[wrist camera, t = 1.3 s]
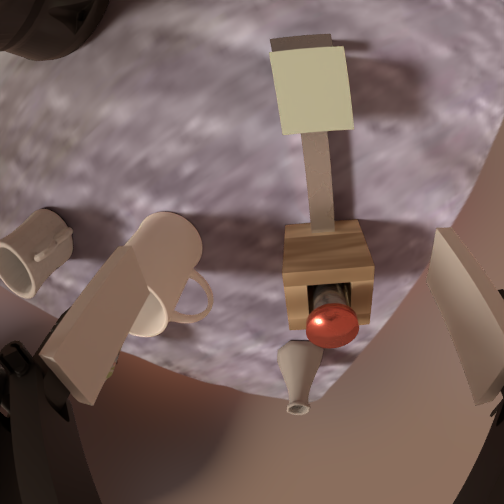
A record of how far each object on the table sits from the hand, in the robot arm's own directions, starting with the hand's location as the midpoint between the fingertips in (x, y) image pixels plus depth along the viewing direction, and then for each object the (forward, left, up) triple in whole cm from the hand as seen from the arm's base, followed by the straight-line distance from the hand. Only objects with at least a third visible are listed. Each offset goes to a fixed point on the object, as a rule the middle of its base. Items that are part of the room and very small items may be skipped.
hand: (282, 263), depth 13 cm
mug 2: (+10, -14, -20) cm, 27 cm away
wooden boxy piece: (+12, +3, -20) cm, 23 cm away
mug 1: (+5, -33, -20) cm, 39 cm away
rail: (-1, +3, -20) cm, 20 cm away
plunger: (+12, +3, -14) cm, 19 cm away
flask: (+30, -1, -20) cm, 37 cm away
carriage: (-6, +3, -20) cm, 21 cm away
